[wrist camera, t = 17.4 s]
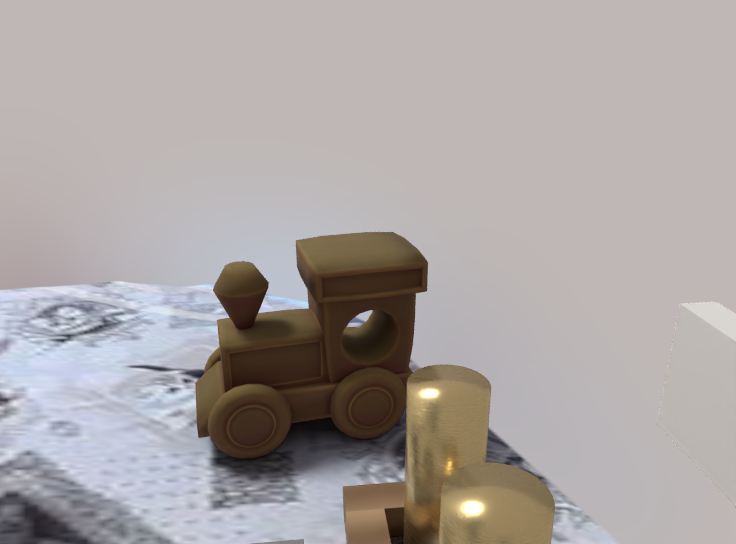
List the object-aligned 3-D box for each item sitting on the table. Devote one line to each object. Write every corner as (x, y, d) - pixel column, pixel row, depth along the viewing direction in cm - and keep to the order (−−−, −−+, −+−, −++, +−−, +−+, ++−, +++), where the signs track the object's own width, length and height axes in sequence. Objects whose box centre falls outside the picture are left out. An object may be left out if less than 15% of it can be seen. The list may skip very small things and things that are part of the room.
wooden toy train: (390, 376, 67) (391, 226, 62) (429, 435, 57) (434, 261, 51) (198, 404, 62) (180, 243, 57) (201, 475, 52) (180, 286, 46)
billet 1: (388, 575, 42) (391, 389, 37) (426, 530, 45) (432, 357, 41) (456, 611, 39) (467, 416, 34) (490, 560, 43) (504, 379, 38)
